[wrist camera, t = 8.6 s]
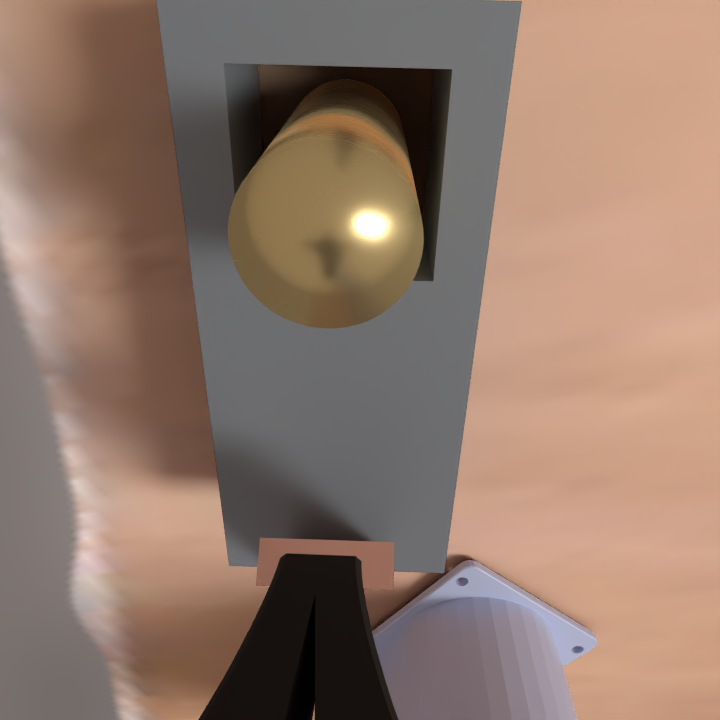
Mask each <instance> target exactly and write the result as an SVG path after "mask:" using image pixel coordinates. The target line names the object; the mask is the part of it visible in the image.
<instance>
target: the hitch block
mask: <svg viewBox="0 0 720 720" xmlns="http://www.w3.org/2000/svg"><path fill="white" fill-rule="evenodd" d="M156 2H157V10H158V18H159V26H160V33H161V41H162V49H163V57H164V64H165V72H166V80H167V88H168V95H169V103H170V111H171V119H172V126H173V134H174V142H175V150H176V157H177V165H178V173H179V181H180V188H181V196H182V204H183V212H184V219H185V227H186V235H187V243H188V251H189V258H190V266H191V274H192V282H193V289H194V297H195V305H196V313H197V320H198V328H199V336H200V344H201V351H202V359H203V367H204V375H205V382H206V390H207V398H208V406H209V413H210V421H211V429H212V437H213V444H214V452H215V460H216V468H217V476H218V483H219V491H220V499H221V507H222V514H223V522H224V530H225V538H226V545H227V553H228V561H229V566H248V567H258V556H259V543H260V538H284V539H314V540H344V541H374V542H394V571H396V572H426V573H444V570H445V563H446V556H447V548H448V541H449V534H450V526H451V519H452V512H453V504H454V497H455V489H456V482H457V475H458V467H459V460H460V453H461V445H462V438H463V430H464V423H465V416H466V408H467V401H468V394H469V386H470V379H471V371H472V364H473V357H474V349H475V342H476V335H477V327H478V320H479V313H480V305H481V298H482V290H483V283H484V276H485V268H486V261H487V254H488V246H489V239H490V231H491V224H492V217H493V209H494V202H495V195H496V187H497V180H498V172H499V165H500V158H501V150H502V143H503V136H504V128H505V121H506V114H507V106H508V99H509V91H510V84H511V77H512V69H513V62H514V55H515V47H516V40H517V32H518V25H519V18H520V10H521V3H522V1H491V0H156ZM258 64H271V65H310V66H348V67H386V68H425V69H434V82H433V95H432V109H431V122H430V135H429V148H428V161H427V174H426V187H425V200H424V213H423V233H424V244H423V252H422V257H421V261H420V265H419V268H418V270H417V273H416V275H415V277H414V279H413V281H412V283H411V284H410V286H409V288H408V289H407V290H406V292H405V293H404V294H403V296H402V297H401V298H400V299H399V300H398V301H397V302H396V303H395V304H394V305H393V306H391V307H390V308H389V309H388V310H386V311H385V312H383V313H382V314H380V315H378V316H377V317H375V318H373V319H371V320H369V321H366V322H364V323H361V324H357V325H354V326H350V327H344V328H332V329H326V328H315V327H309V326H304V325H301V324H298V323H294V322H292V321H290V320H287V319H285V318H283V317H281V316H279V315H278V314H276V313H274V312H272V311H271V310H270V309H268V308H267V307H266V306H264V305H263V304H262V303H261V302H260V301H259V300H258V299H257V298H256V297H255V296H254V295H253V294H252V293H251V292H250V291H249V289H248V288H247V287H246V285H245V284H244V282H243V281H242V279H241V278H240V276H239V274H238V272H237V270H236V268H235V265H234V262H233V259H232V256H231V253H230V247H229V242H228V221H229V214H230V210H231V205H232V203H233V200H234V197H235V195H236V192H237V191H238V189H239V187H240V185H241V183H242V182H243V180H244V179H245V178H246V176H247V175H248V173H249V172H250V171H251V169H252V168H253V167H254V165H255V164H256V162H257V161H258V160H259V158H260V157H261V156H262V154H263V142H262V125H261V107H260V90H259V73H258Z"/></svg>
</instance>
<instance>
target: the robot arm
mask: <svg viewBox="0 0 720 720" xmlns="http://www.w3.org/2000/svg"><path fill="white" fill-rule="evenodd" d="M462 577H464V578H462ZM596 645H597V639H596V636H595V634H594V633H593V632H592V631H590V630H589V629H587V628H585V627H584V626H582V625H581V624H579V623H577V622H576V621H574V620H572V619H571V618H569V617H567V616H566V615H564V614H562V613H561V612H559V611H557V610H556V609H554V608H553V607H551V606H549V605H548V604H546V603H544V602H543V601H541V600H539V599H538V598H536V597H534V596H533V595H531V594H529V593H528V592H526V591H525V590H523V589H521V588H520V587H518V586H516V585H515V584H513V583H511V582H510V581H508V580H506V579H505V578H503V577H501V576H500V575H498V574H497V573H495V572H493V571H492V570H490V569H488V568H487V567H485V566H483V565H482V564H480V563H478V562H476V561H474V560H467V561H463V562H462V563H460V564H459V565H457V566H456V567H455V568H453V569H452V570H451V571H450V572H448V573H447V574H446V575H444V576H443V577H442V578H440V579H439V580H438V581H437V582H435V583H434V584H433V585H431V586H430V587H429V588H428V589H426V590H425V591H424V592H422V593H421V594H420V595H418V596H417V597H416V598H415V599H413V600H412V601H411V602H409V603H408V604H407V605H405V606H404V607H403V608H402V609H400V610H399V611H398V612H396V613H395V614H394V615H393V616H391V617H390V618H389V619H387V620H386V621H385V622H383V623H382V624H381V625H380V626H378V627H377V628H376V629H374V630H373V631H372V630H371V625H370V621H369V616H368V611H367V607H366V601H365V595H364V588H363V580H362V561H361V560H360V559H358V558H357V557H356V556H343V555H318V554H292V553H286V554H285V555H283V556H282V557H280V560H279V563H278V566H277V569H276V571H275V574H274V577H273V579H272V582H271V584H270V587H269V589H268V591H267V594H266V596H265V598H264V600H263V603H262V605H261V607H260V609H259V611H258V613H257V615H256V617H255V619H254V622H253V624H252V626H251V628H250V630H249V631H248V633H247V635H246V637H245V639H244V641H243V643H242V645H241V647H240V649H239V650H238V652H237V654H236V656H235V658H234V660H233V662H232V664H231V666H230V667H229V669H228V671H227V673H226V674H225V676H224V678H223V680H222V681H221V683H220V685H219V686H218V688H217V690H216V691H215V693H214V695H213V696H212V698H211V700H210V701H209V703H208V705H207V706H206V708H205V710H204V711H203V713H202V715H201V716H200V718H199V720H312V717H313V710H314V704H315V720H577V716H576V713H575V709H574V705H573V702H572V698H571V695H570V691H569V687H568V684H567V680H566V677H565V673H564V670H563V666H565V665H567V664H568V663H570V662H572V661H573V660H575V659H576V658H578V657H580V656H581V655H583V654H585V653H586V652H588V651H590V650H591V649H593V648H594V647H595V646H596Z"/></svg>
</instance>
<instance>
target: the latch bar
mask: <svg viewBox="0 0 720 720" xmlns="http://www.w3.org/2000/svg"><path fill="white" fill-rule="evenodd" d="M286 553H292V554H318V555H343V556H356V557H357V558H358V559H360V560H361V561H362V580H363V588H364V589H378V590H393V588H394V542H374V541H344V540H314V539H284V538H260V543H259V556H258V568H257V580H256V585H260V586H270V584H271V582H272V579H273V577H274V574H275V571H276V569H277V566H278V563H279V560H280V557H282V556H283V555H285V554H286Z"/></svg>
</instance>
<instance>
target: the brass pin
mask: <svg viewBox="0 0 720 720" xmlns="http://www.w3.org/2000/svg"><path fill="white" fill-rule="evenodd" d="M228 242H229V247H230V253H231V256H232V259H233V262H234V265H235V268H236V270H237V272H238V274H239V276H240V278H241V279H242V281H243V282H244V284H245V285H246V287H247V288H248V289H249V291H250V292H251V293H252V294H253V295H254V296H255V297H256V298H257V299H258V300H259V301H260V302H261V303H262V304H263V305H264V306H266V307H267V308H268V309H270V310H271V311H272V312H274V313H276V314H278V315H279V316H281V317H283V318H285V319H287V320H290V321H292V322H294V323H298V324H301V325H304V326H309V327H315V328H326V329H332V328H344V327H350V326H354V325H357V324H361V323H364V322H366V321H369V320H371V319H373V318H375V317H377V316H378V315H380V314H382V313H383V312H385V311H386V310H388V309H389V308H390V307H391V306H393V305H394V304H395V303H396V302H397V301H398V300H399V299H400V298H401V297H402V296H403V294H404V293H405V292H406V290H407V289H408V288H409V286H410V284H411V283H412V281H413V279H414V277H415V275H416V273H417V270H418V268H419V265H420V261H421V257H422V252H423V244H424V233H423V224H422V218H421V213H420V208H419V203H418V198H417V193H416V189H415V184H414V179H413V174H412V169H411V165H410V160H409V155H408V150H407V145H406V141H405V136H404V131H403V126H402V123H401V120H400V117H399V115H398V113H397V111H396V109H395V107H394V106H393V104H392V103H391V102H390V100H389V99H388V98H387V97H386V96H385V95H384V94H383V93H382V92H380V91H379V90H377V89H376V88H374V87H373V86H371V85H369V84H366V83H364V82H361V81H356V80H348V79H343V80H335V81H330V82H327V83H325V84H322V85H320V86H318V87H317V88H315V89H314V90H312V91H311V92H310V93H308V94H307V95H306V96H305V97H304V98H303V100H302V101H301V102H300V104H299V105H298V106H297V108H296V109H295V110H294V112H293V113H292V115H291V116H290V117H289V119H288V120H287V121H286V123H285V124H284V126H283V127H282V128H281V130H280V131H279V132H278V134H277V135H276V136H275V138H274V139H273V141H272V142H271V143H270V145H269V146H268V147H267V149H266V150H265V152H264V153H263V154H262V156H261V157H260V158H259V160H258V161H257V162H256V164H255V165H254V167H253V168H252V169H251V171H250V172H249V173H248V175H247V176H246V178H245V179H244V180H243V182H242V183H241V185H240V187H239V189H238V191H237V192H236V195H235V197H234V200H233V203H232V205H231V210H230V214H229V221H228Z"/></svg>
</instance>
